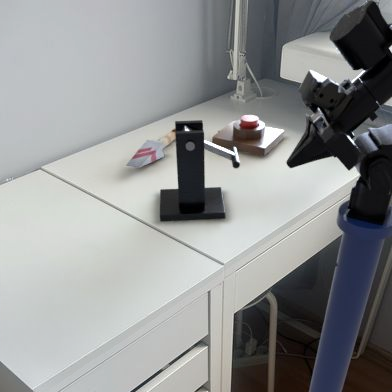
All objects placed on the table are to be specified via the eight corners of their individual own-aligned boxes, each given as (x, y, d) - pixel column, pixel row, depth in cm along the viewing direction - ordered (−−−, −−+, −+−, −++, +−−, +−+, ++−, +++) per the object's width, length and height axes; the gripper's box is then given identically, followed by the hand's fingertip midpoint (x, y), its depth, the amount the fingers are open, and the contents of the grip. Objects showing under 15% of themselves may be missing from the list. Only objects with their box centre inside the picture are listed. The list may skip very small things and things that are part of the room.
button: (260, 125, 105) (261, 116, 104) (253, 131, 103) (253, 122, 102) (244, 122, 106) (245, 113, 105) (237, 128, 104) (237, 119, 103)
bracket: (221, 193, 92) (222, 114, 82) (225, 219, 85) (226, 137, 75) (160, 195, 91) (154, 116, 82) (160, 221, 85) (153, 140, 75)
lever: (233, 157, 85) (239, 144, 84) (236, 172, 81) (243, 159, 80) (178, 134, 82) (184, 120, 81) (178, 149, 78) (184, 134, 77)
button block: (283, 138, 108) (285, 121, 105) (264, 156, 102) (265, 139, 99) (233, 128, 112) (234, 111, 110) (212, 145, 106) (212, 128, 104)
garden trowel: (121, 157, 96) (170, 123, 109) (123, 171, 97) (170, 136, 111) (139, 160, 94) (186, 126, 108) (140, 174, 96) (186, 139, 110)
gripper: (323, 33, 78) (249, 110, 86) (355, 72, 65) (263, 158, 73) (363, 86, 84) (290, 153, 92) (399, 131, 71) (310, 205, 79)
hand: (288, 165), depth 84 cm, fingers closed
